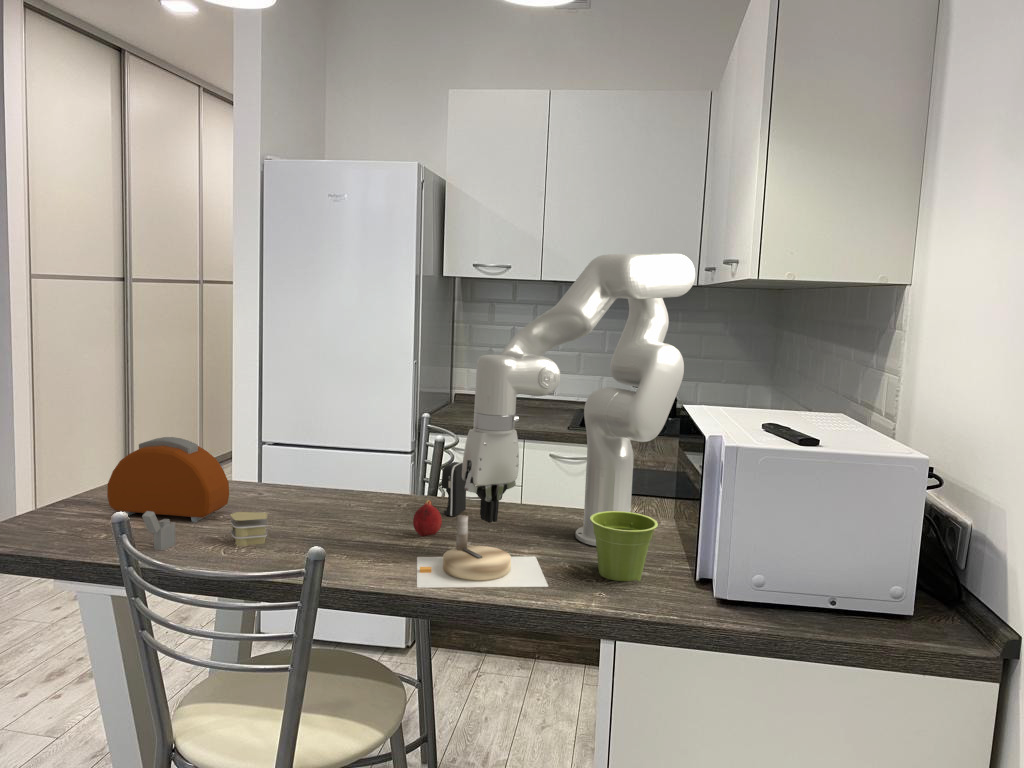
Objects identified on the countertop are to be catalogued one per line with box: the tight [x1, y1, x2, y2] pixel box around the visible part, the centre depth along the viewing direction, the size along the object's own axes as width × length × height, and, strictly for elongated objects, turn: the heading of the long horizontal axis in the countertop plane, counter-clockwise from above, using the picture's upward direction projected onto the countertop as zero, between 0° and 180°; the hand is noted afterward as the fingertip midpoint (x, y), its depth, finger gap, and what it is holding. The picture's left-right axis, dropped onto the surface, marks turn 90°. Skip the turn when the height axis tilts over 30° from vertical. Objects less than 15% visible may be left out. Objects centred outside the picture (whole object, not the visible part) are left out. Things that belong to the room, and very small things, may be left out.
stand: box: [416, 556, 549, 589], centre depth 141 cm, size 22×15×2 cm
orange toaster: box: [106, 436, 230, 523], centre depth 171 cm, size 23×9×17 cm, turn 82°
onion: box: [412, 499, 443, 538], centre depth 161 cm, size 6×6×8 cm
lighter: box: [141, 511, 177, 552], centre depth 150 cm, size 7×2×8 cm, turn 165°
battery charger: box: [441, 461, 467, 517], centre depth 181 cm, size 7×4×11 cm, turn 161°
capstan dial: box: [442, 514, 512, 580], centre depth 141 cm, size 12×12×8 cm
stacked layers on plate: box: [230, 511, 268, 547], centre depth 156 cm, size 10×9×6 cm
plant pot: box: [590, 511, 659, 582], centre depth 142 cm, size 12×12×11 cm
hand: (488, 520), depth 148 cm, fingers closed
